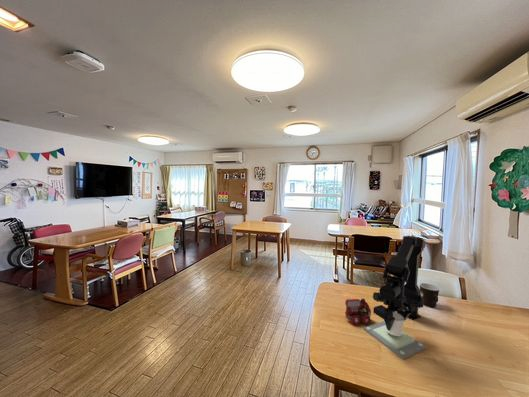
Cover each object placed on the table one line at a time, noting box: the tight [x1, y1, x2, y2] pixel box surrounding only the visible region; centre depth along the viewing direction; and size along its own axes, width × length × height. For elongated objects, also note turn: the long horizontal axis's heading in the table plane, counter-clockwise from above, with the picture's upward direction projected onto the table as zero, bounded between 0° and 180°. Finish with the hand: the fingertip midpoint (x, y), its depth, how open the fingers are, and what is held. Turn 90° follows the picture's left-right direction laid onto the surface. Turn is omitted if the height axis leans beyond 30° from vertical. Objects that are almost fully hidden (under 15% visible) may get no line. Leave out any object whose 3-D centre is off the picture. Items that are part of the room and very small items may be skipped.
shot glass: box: [386, 312, 405, 336], centre depth 92 cm, size 7×7×7 cm
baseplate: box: [363, 320, 427, 360], centre depth 92 cm, size 14×18×2 cm
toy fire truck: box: [344, 298, 372, 326], centre depth 104 cm, size 7×12×10 cm, turn 96°
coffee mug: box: [419, 282, 440, 309], centre depth 118 cm, size 12×9×10 cm
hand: (393, 328), depth 92 cm, fingers closed on shot glass, 6 cm apart
